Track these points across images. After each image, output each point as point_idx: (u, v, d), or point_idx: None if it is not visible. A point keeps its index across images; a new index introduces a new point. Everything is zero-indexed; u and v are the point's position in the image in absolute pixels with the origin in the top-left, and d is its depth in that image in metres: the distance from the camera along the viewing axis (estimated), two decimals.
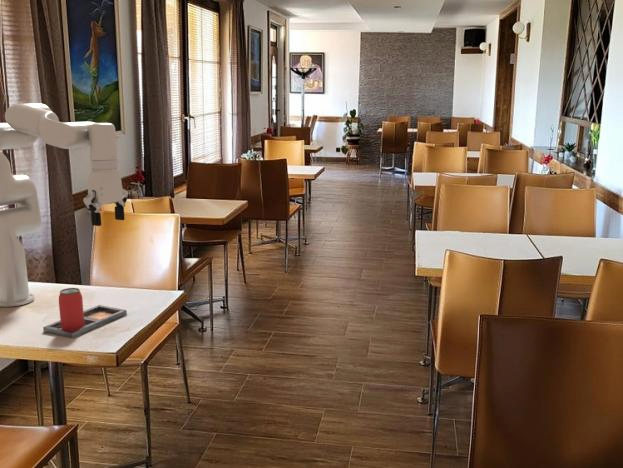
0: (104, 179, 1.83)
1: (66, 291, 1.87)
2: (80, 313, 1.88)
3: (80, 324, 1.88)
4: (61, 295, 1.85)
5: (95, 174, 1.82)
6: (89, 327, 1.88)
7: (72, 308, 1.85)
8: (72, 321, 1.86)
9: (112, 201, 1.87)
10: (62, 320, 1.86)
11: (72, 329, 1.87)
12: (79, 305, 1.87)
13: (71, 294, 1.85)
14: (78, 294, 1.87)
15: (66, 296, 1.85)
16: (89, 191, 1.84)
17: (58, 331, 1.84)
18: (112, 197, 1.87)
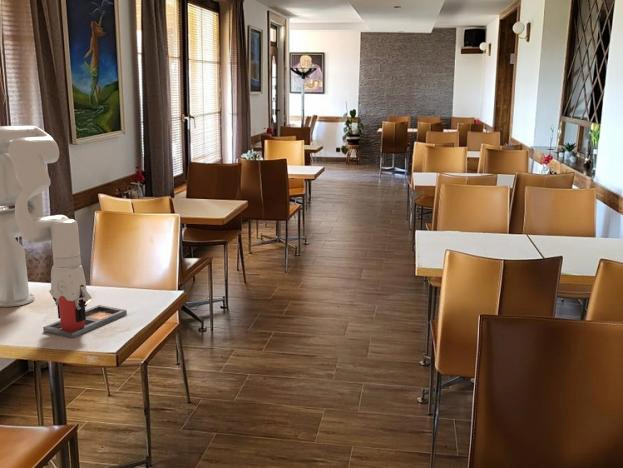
0: None
1: None
2: None
3: (80, 324, 1.88)
4: None
5: (80, 268, 1.84)
6: (89, 327, 1.88)
7: (72, 308, 1.85)
8: (72, 321, 1.86)
9: None
10: (62, 320, 1.86)
11: (72, 329, 1.87)
12: None
13: None
14: None
15: None
16: (77, 288, 1.83)
17: (58, 331, 1.84)
18: None
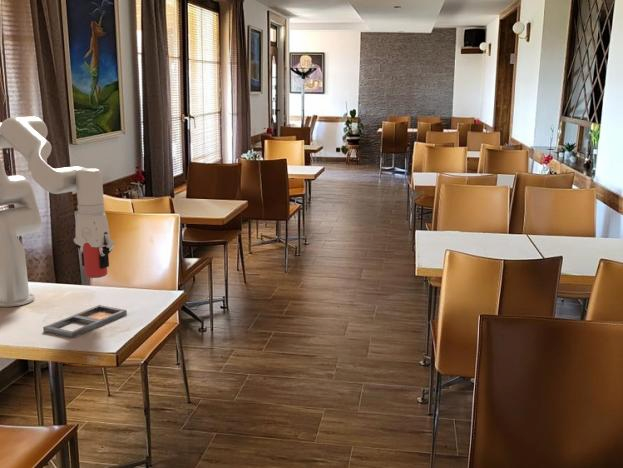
0: None
1: None
2: None
3: (104, 271, 1.95)
4: None
5: (104, 216, 1.91)
6: (89, 327, 1.88)
7: (96, 254, 1.92)
8: (96, 268, 1.93)
9: None
10: (86, 266, 1.93)
11: (96, 275, 1.93)
12: None
13: None
14: None
15: None
16: (101, 234, 1.90)
17: (58, 331, 1.84)
18: None
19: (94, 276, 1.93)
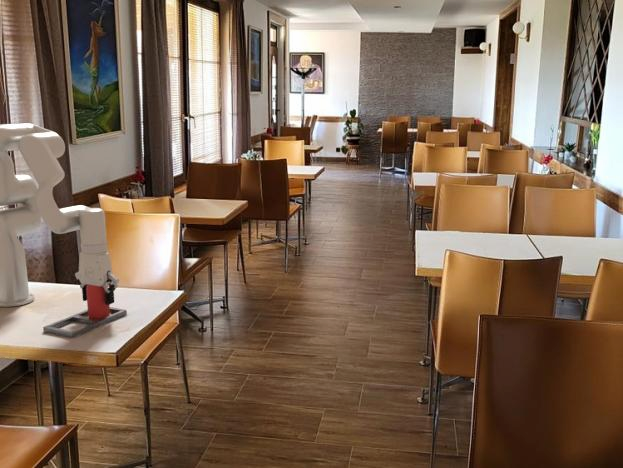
0: None
1: None
2: None
3: (107, 312, 1.98)
4: None
5: (107, 255, 1.94)
6: (89, 327, 1.88)
7: (99, 296, 1.95)
8: (99, 309, 1.96)
9: None
10: (90, 308, 1.96)
11: (99, 317, 1.96)
12: None
13: None
14: None
15: None
16: (104, 273, 1.93)
17: (58, 331, 1.84)
18: None
19: (97, 318, 1.96)
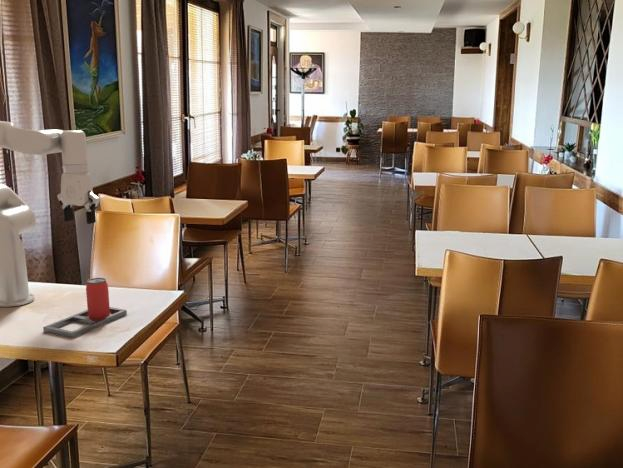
0: None
1: (93, 281, 1.97)
2: (107, 301, 1.97)
3: (107, 312, 1.98)
4: (88, 284, 1.95)
5: (88, 176, 2.01)
6: (89, 327, 1.88)
7: (99, 296, 1.95)
8: (99, 309, 1.96)
9: None
10: (89, 308, 1.96)
11: (99, 317, 1.96)
12: (106, 294, 1.97)
13: (98, 283, 1.95)
14: (104, 283, 1.96)
15: (93, 285, 1.94)
16: (85, 193, 2.00)
17: (58, 331, 1.84)
18: None
19: (97, 318, 1.96)
